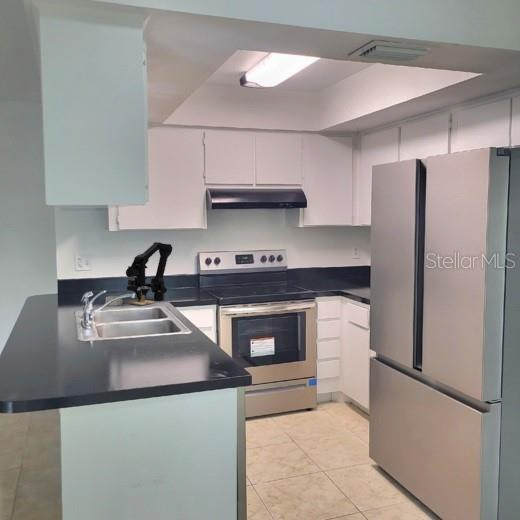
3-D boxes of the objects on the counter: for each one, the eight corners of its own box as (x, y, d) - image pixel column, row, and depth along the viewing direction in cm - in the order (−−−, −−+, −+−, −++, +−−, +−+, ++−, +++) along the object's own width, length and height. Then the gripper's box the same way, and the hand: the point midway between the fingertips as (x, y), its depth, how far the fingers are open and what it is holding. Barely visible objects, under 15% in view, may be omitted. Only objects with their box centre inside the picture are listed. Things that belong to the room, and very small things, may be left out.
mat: (141, 301, 341) (141, 301, 341) (160, 304, 331) (160, 303, 331) (121, 305, 327) (121, 304, 327) (140, 308, 317) (140, 307, 317)
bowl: (115, 303, 336) (114, 295, 335) (125, 304, 330) (125, 296, 330) (102, 305, 327) (102, 297, 327) (113, 306, 322) (113, 299, 321)
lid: (141, 300, 338) (141, 293, 338) (155, 302, 331) (155, 294, 330) (126, 303, 327) (126, 295, 327) (140, 305, 320) (140, 297, 320)
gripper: (142, 273, 340) (143, 297, 341) (120, 276, 324) (121, 301, 326) (154, 274, 334) (155, 298, 335) (132, 277, 318) (133, 302, 319)
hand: (141, 300), depth 329 cm, fingers closed on lid, 3 cm apart
